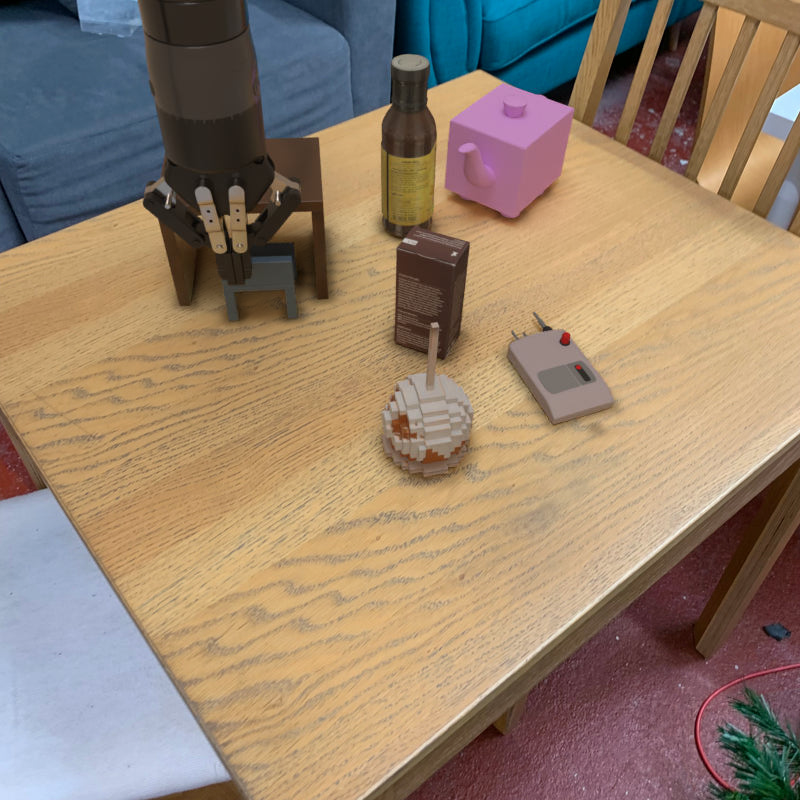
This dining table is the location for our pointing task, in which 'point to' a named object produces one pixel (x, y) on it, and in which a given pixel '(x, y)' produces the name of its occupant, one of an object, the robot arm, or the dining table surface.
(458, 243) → the box
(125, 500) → the dining table surface
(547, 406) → the remote control
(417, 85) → the sauce bottle
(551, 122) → the teapot
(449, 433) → the candy apple
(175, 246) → the desk
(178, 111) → the robot arm
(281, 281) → the chair
